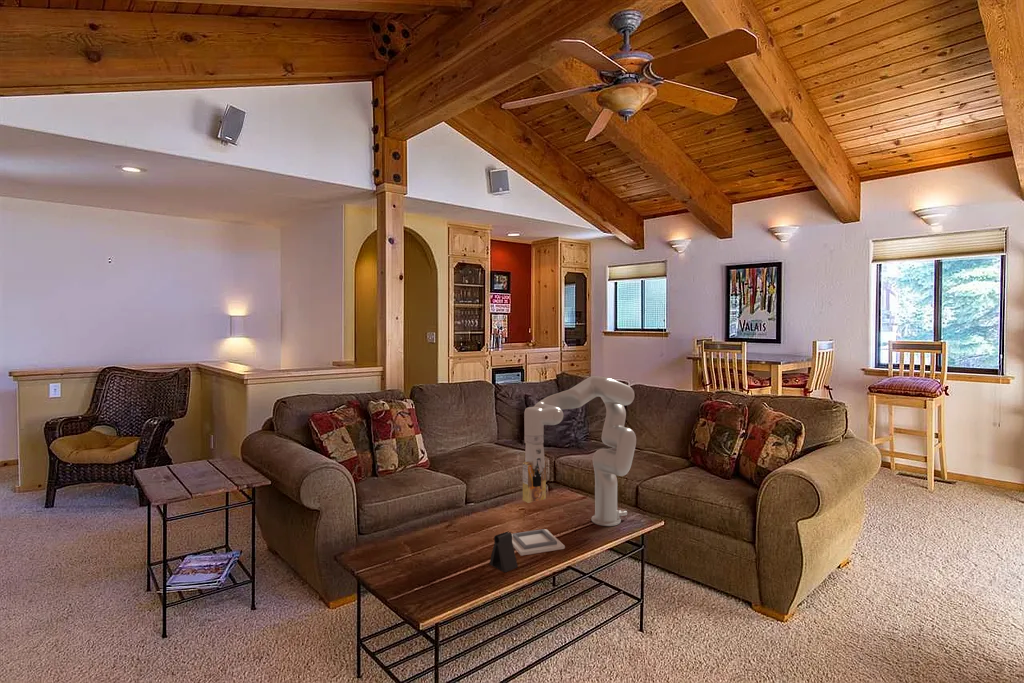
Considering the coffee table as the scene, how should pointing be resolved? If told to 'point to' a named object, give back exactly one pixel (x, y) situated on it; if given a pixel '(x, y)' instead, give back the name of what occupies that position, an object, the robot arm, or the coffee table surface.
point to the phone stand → (503, 553)
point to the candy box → (528, 490)
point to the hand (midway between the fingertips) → (534, 483)
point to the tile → (535, 542)
